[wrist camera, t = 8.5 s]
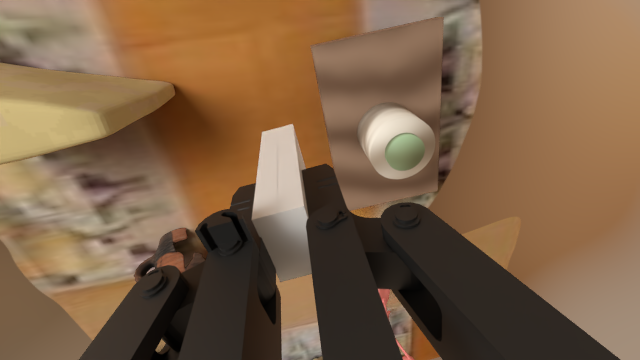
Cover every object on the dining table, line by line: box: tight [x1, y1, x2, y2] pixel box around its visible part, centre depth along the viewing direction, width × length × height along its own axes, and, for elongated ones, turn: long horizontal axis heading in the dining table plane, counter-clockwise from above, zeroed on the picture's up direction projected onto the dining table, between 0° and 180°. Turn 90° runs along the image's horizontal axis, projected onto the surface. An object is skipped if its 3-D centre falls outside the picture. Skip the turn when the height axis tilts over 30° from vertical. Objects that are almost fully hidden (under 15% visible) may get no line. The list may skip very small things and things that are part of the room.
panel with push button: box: [310, 17, 444, 211], centre depth 33 cm, size 22×14×8 cm, turn 11°
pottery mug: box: [134, 228, 205, 282], centre depth 47 cm, size 12×10×8 cm
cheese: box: [0, 63, 175, 165], centre depth 28 cm, size 22×10×15 cm, turn 91°
